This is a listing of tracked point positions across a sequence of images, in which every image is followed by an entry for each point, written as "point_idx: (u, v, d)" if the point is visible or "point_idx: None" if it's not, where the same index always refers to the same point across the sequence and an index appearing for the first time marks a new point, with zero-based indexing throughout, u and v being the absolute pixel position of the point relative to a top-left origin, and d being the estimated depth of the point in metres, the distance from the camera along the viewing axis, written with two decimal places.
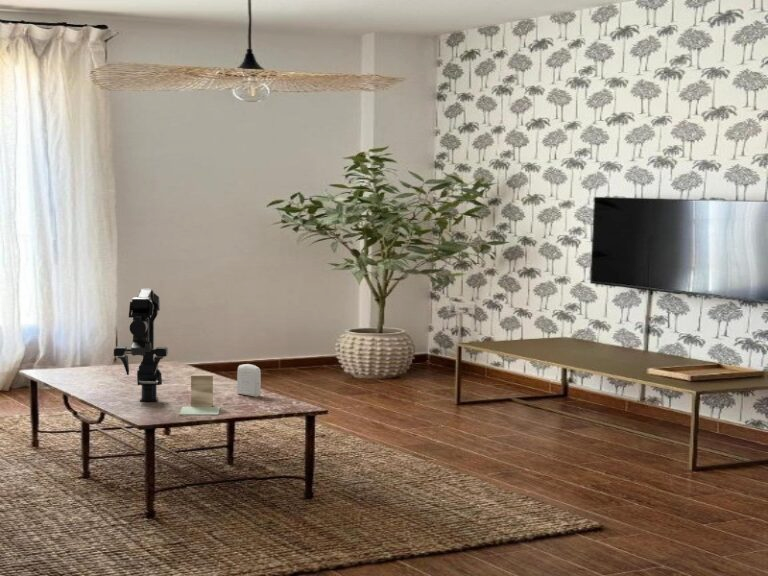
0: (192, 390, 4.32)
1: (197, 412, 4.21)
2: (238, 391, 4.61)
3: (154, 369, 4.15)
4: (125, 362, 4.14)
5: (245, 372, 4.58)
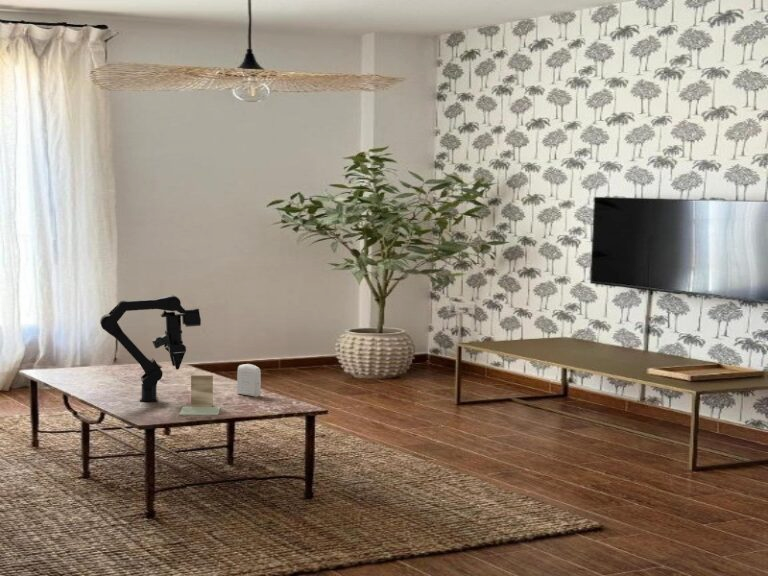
0: (192, 390, 4.32)
1: (197, 412, 4.21)
2: (238, 391, 4.61)
3: (174, 363, 4.42)
4: (169, 353, 4.51)
5: (245, 372, 4.58)
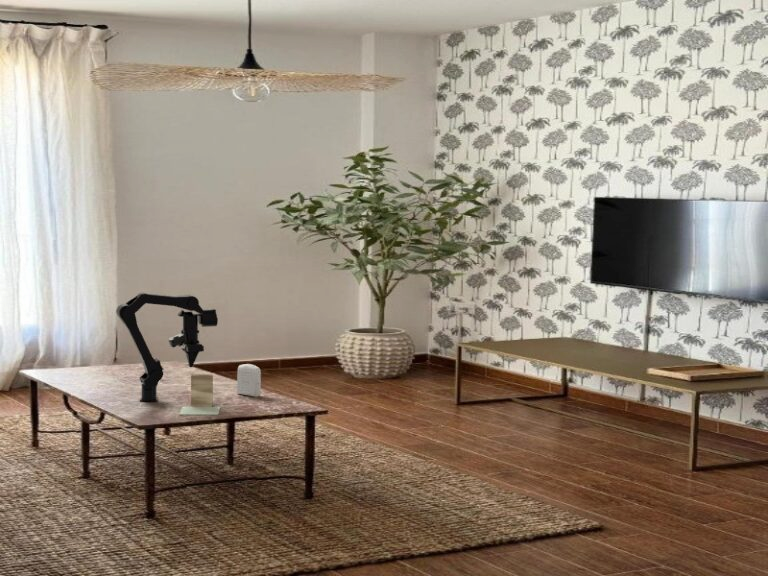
0: (192, 390, 4.32)
1: (197, 412, 4.21)
2: (238, 391, 4.61)
3: (188, 361, 4.49)
4: (186, 354, 4.50)
5: (245, 372, 4.58)
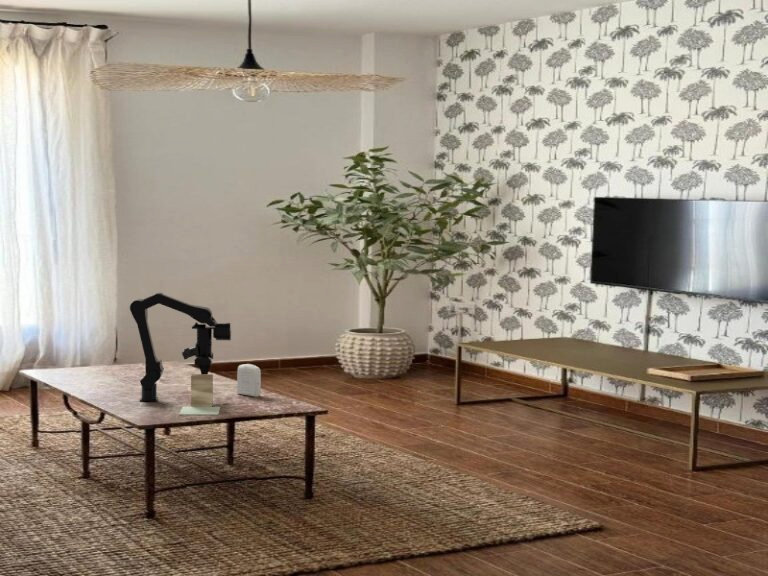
0: (192, 390, 4.32)
1: (197, 412, 4.21)
2: (238, 391, 4.61)
3: None
4: None
5: (245, 372, 4.58)
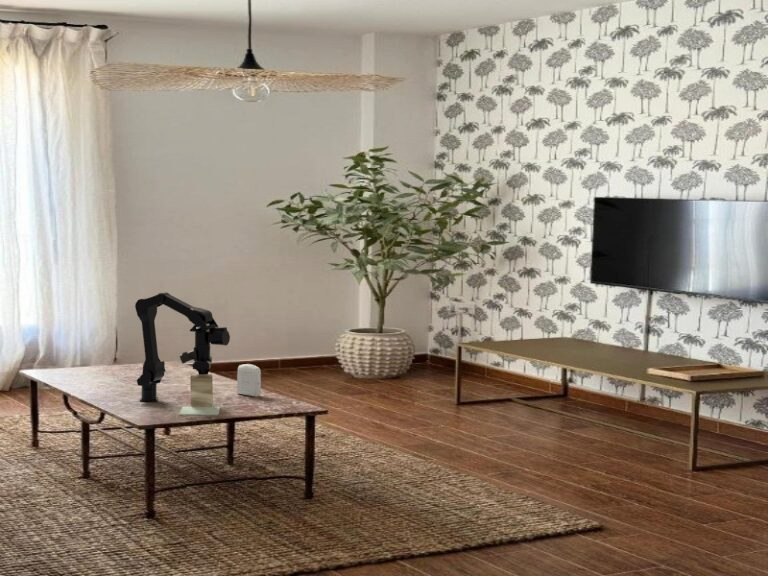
0: (192, 391, 4.31)
1: (197, 412, 4.21)
2: (238, 391, 4.61)
3: None
4: None
5: (245, 372, 4.58)
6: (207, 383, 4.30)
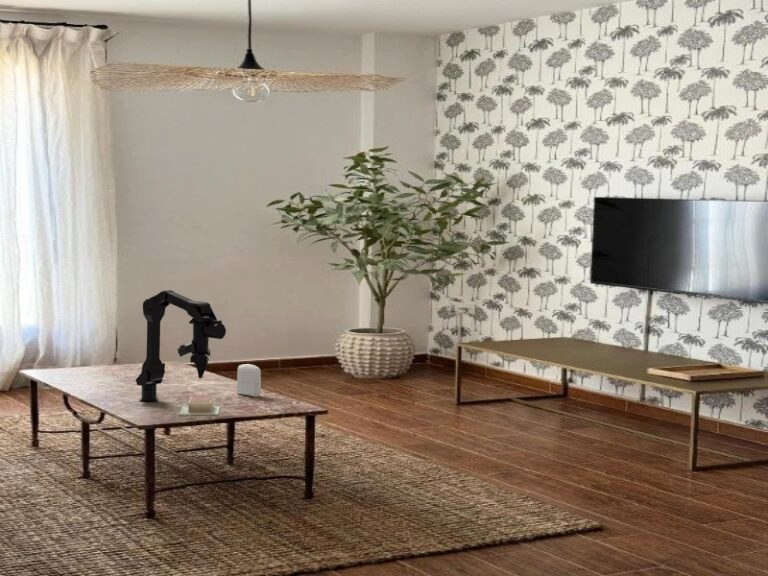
0: None
1: (197, 412, 4.21)
2: (238, 391, 4.61)
3: None
4: None
5: (245, 372, 4.58)
6: None
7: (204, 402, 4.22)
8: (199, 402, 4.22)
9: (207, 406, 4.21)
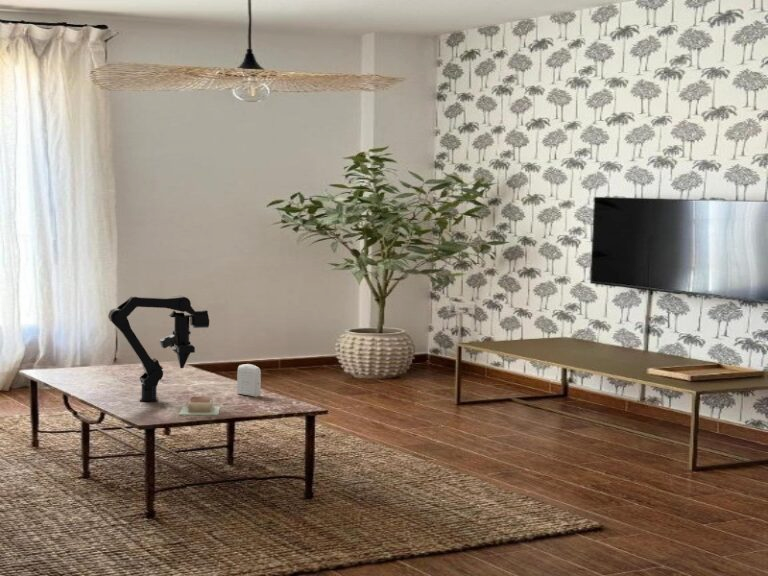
0: None
1: (197, 412, 4.21)
2: (238, 391, 4.61)
3: (179, 362, 4.48)
4: (177, 355, 4.49)
5: (245, 372, 4.58)
6: None
7: (204, 402, 4.22)
8: (199, 402, 4.22)
9: (207, 406, 4.21)
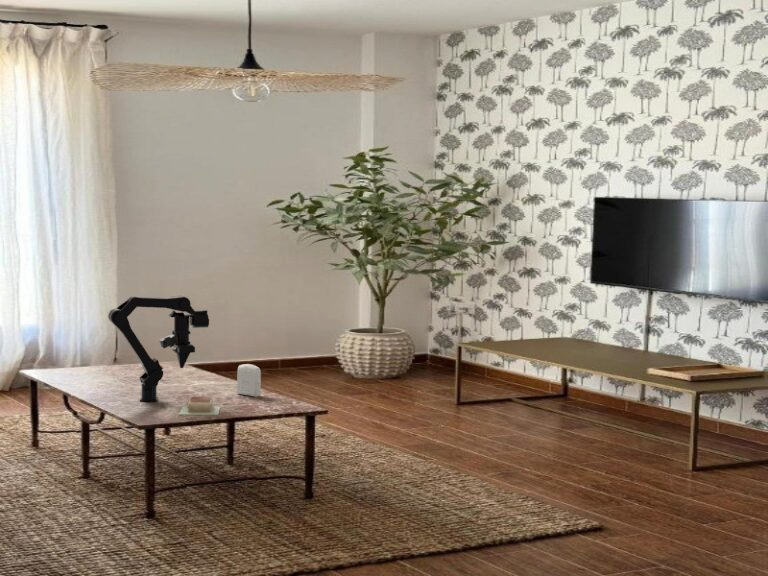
0: None
1: (197, 412, 4.21)
2: (238, 391, 4.61)
3: (179, 362, 4.48)
4: (177, 355, 4.49)
5: (245, 372, 4.58)
6: None
7: (204, 402, 4.22)
8: (199, 402, 4.22)
9: (207, 406, 4.21)
